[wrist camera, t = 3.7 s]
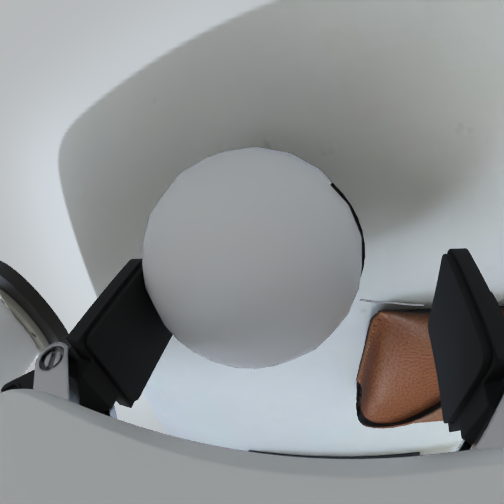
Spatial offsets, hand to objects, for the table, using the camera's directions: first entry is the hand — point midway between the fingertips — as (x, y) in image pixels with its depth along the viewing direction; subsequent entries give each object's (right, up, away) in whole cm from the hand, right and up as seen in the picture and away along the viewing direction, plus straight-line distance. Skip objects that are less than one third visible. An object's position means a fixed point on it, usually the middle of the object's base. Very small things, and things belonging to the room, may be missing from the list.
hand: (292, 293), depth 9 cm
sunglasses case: (+14, -5, +5) cm, 16 cm away
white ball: (+1, +3, +4) cm, 5 cm away
